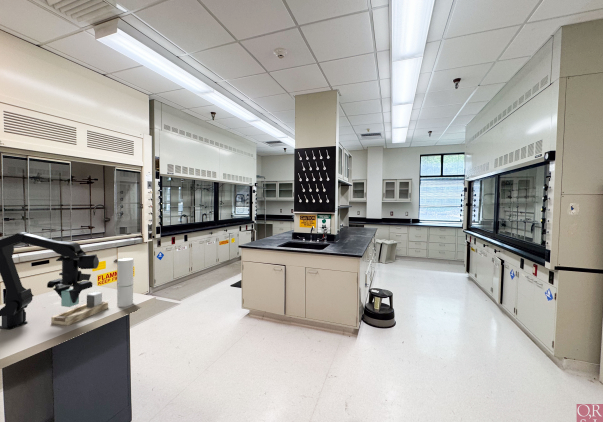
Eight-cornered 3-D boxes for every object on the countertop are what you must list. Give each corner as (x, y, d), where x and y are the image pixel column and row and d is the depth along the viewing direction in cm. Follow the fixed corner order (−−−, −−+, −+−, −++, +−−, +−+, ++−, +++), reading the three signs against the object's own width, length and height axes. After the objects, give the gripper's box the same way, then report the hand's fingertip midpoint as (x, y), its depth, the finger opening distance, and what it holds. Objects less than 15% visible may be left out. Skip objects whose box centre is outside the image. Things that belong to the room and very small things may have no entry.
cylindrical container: (128, 300, 144) (129, 257, 143) (135, 303, 140) (136, 259, 140) (114, 304, 138) (115, 259, 137) (120, 307, 134) (121, 261, 134)
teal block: (69, 307, 117) (69, 292, 117) (61, 306, 118) (61, 291, 117) (79, 303, 121) (79, 289, 121) (71, 302, 122) (71, 288, 122)
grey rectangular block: (93, 309, 128) (93, 295, 128) (86, 308, 129) (86, 294, 129) (101, 305, 133) (102, 292, 133) (94, 304, 133) (94, 291, 133)
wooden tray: (67, 325, 114) (67, 319, 114) (51, 323, 116) (51, 317, 116) (108, 307, 134) (108, 302, 134) (93, 306, 135) (93, 300, 135)
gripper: (103, 267, 125) (102, 298, 126) (71, 264, 128) (71, 294, 128) (80, 272, 114) (80, 306, 115) (46, 269, 117) (46, 303, 117)
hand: (69, 302), depth 119 cm, fingers closed on teal block, 5 cm apart
